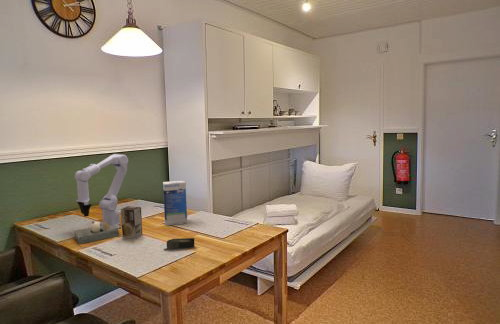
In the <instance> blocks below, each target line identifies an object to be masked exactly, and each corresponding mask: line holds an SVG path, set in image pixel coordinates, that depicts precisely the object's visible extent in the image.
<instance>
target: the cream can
mask: <svg viewBox="0 0 500 324" xmlns="http://www.w3.org/2000/svg"><path fill="white" fill-rule="evenodd" d="M90 224H91V228H92V234H93V233H98V232H100V226H101V225H100V224H101V223H100V221H95V220H92V221H91V223H90Z"/></svg>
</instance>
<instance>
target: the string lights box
mask: <svg viewBox="0 0 500 324" xmlns="http://www.w3.org/2000/svg"><path fill="white" fill-rule="evenodd" d="M186 185H187V183H186V182H185V180H173V181H162V186H163V187H162V193H163V195H162V196H163V207H164V208H163V211H164V212H163V214H164V224H165V226H175V224H176V225H183V224H184V223H185V224H188V211H187V207H188V206H187V188H186V187H187V186H186Z"/></svg>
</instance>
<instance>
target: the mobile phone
mask: <svg viewBox="0 0 500 324" xmlns="http://www.w3.org/2000/svg"><path fill="white" fill-rule="evenodd" d="M192 248H195V237H185V238H184V237H183V238H172V239H167V241H166V248H163V251H168V250H182V249H183V250H185V249H192Z"/></svg>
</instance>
